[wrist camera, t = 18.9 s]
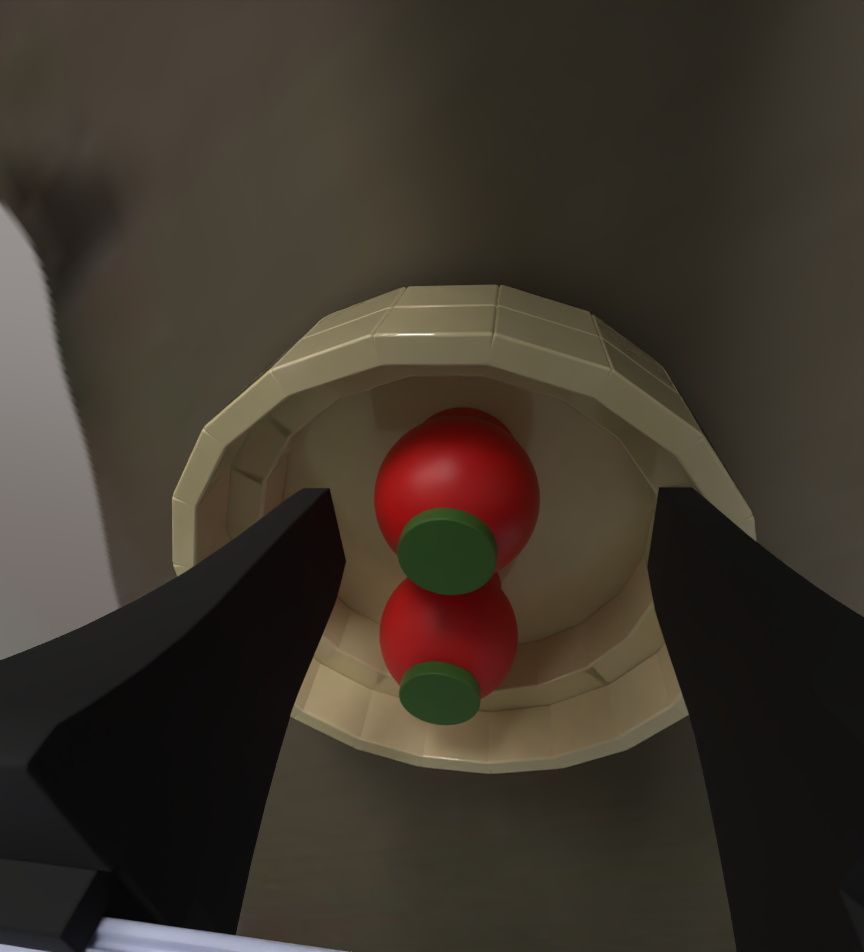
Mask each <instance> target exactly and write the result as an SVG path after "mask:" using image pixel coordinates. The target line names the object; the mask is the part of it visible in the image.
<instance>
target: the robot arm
mask: <svg viewBox="0 0 864 952" xmlns="http://www.w3.org/2000/svg"><path fill="white" fill-rule="evenodd" d="M345 564H346V558H345V554H344V549H343V545H342V540H341V536H340V532H339V527H338V523H337V518H336V514H335V509H334V505H333V501H332V496H331V492H330V488H303V489H301V490H299V491H298V492H296V493H295V494H293V495H292V496H290V497H289V498H288V499H286V500H285V501H284V502H282V503H281V504H280V505H278V506H277V507H276V508H274V509H273V510H272V511H270V512H269V513H268V514H266V515H265V516H264V517H262V518H261V519H260V520H258V521H257V522H256V523H254V524H253V525H252V526H250V527H249V528H248V529H246V530H245V531H244V532H242V533H241V534H240V535H238V536H237V537H236V538H234V539H233V540H231V541H230V542H229V543H227V544H226V545H224V546H223V547H221V548H220V549H218V550H217V551H215V552H214V553H212V554H211V555H210V556H208V557H207V558H205V559H204V560H202V561H201V562H199V563H198V564H196V565H195V566H194V567H192V568H190V569H189V570H187V571H186V572H184V573H182V574H181V575H179V576H178V577H176V578H174V579H173V580H171V581H169V582H168V583H166V584H164V585H162V586H161V587H159V588H157V589H155V590H154V591H152V592H150V593H148V594H147V595H145V596H143V597H141V598H139V599H137V600H136V601H134V602H132V603H130V604H128V605H126V606H124V607H122V608H119V609H117V610H115V611H113V612H111V613H109V614H108V615H105V616H103V617H101V618H99V619H97V620H95V621H93V622H91V623H89V624H87V625H85V626H83V627H81V628H79V629H76V630H74V631H71V632H69V633H67V634H65V635H62V636H60V637H58V638H55V639H53V640H51V641H48V642H46V643H43V644H41V645H38V646H36V647H33V648H31V649H28V650H26V651H24V652H21V653H18V654H16V655H13V656H11V657H8V658H5V659H3V660H0V952H348V951H341V950H334V949H327V948H320V947H313V946H306V945H299V944H292V943H285V942H278V941H271V940H264V939H257V938H250V937H243V936H236V931H237V926H238V921H239V916H240V912H241V907H242V903H243V898H244V893H245V889H246V884H247V879H248V875H249V870H250V865H251V861H252V857H253V853H254V849H255V845H256V841H257V837H258V832H259V828H260V824H261V820H262V816H263V812H264V808H265V804H266V800H267V796H268V793H269V789H270V785H271V782H272V778H273V774H274V771H275V767H276V763H277V760H278V756H279V753H280V749H281V746H282V742H283V739H284V736H285V732H286V729H287V726H288V722H289V719H290V716H291V712H292V709H293V707H294V704H295V701H296V698H297V696H298V693H299V690H300V688H301V685H302V683H303V681H304V678H305V676H306V673H307V671H308V668H309V666H310V664H311V661H312V659H313V656H314V654H315V652H316V649H317V647H318V644H319V642H320V640H321V637H322V635H323V632H324V630H325V627H326V625H327V623H328V620H329V618H330V615H331V613H332V610H333V608H334V605H335V602H336V599H337V596H338V592H339V588H340V585H341V581H342V577H343V572H344V568H345ZM647 570H648V575H649V581H650V587H651V593H652V598H653V603H654V608H655V613H656V616H657V619H658V622H659V625H660V629H661V632H662V635H663V638H664V641H665V644H666V647H667V650H668V653H669V656H670V659H671V662H672V665H673V668H674V671H675V674H676V677H677V680H678V683H679V686H680V689H681V692H682V695H683V699H684V702H685V705H686V708H687V711H688V714H689V717H690V721H691V724H692V728H693V731H694V735H695V738H696V743H697V747H698V752H699V756H700V761H701V765H702V770H703V775H704V779H705V784H706V788H707V793H708V798H709V803H710V808H711V813H712V818H713V823H714V828H715V833H716V838H717V843H718V848H719V853H720V858H721V864H722V869H723V875H724V880H725V886H726V891H727V897H728V902H729V908H730V913H731V919H732V925H733V931H734V937H735V943H736V949H737V952H864V617H862V616H861V615H859V614H858V613H856V612H854V611H853V610H851V609H850V608H848V607H846V606H845V605H843V604H842V603H840V602H838V601H837V600H835V599H834V598H832V597H831V596H829V595H828V594H826V593H825V592H823V591H822V590H820V589H819V588H817V587H816V586H815V585H813V584H812V583H810V582H809V581H808V580H806V579H805V578H804V577H802V576H801V575H799V574H798V573H797V572H795V571H794V570H792V569H791V568H790V567H788V566H787V565H786V564H784V563H783V562H782V561H780V560H779V559H778V558H776V557H775V556H774V555H773V554H771V553H770V552H769V551H767V550H766V549H765V548H764V547H762V546H761V545H760V544H759V543H757V542H756V541H755V540H754V539H753V538H751V537H750V536H749V535H748V534H747V533H745V532H744V531H743V530H742V529H741V528H739V527H738V526H737V525H736V524H735V523H733V522H732V521H731V520H730V519H729V518H728V517H726V516H725V515H724V514H723V513H722V512H721V511H720V510H718V509H717V508H716V507H715V506H714V505H713V504H711V503H710V502H709V501H708V500H707V499H706V498H705V497H703V496H702V495H701V494H700V493H699V492H697V491H696V490H695V489H694V488H692V487H659V490H658V497H657V504H656V510H655V517H654V524H653V531H652V538H651V544H650V551H649V558H648V565H647Z"/></svg>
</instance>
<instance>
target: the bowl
mask: <svg viewBox="0 0 864 952" xmlns="http://www.w3.org/2000/svg"><path fill="white" fill-rule="evenodd" d="M463 407H464V408H473V409H478V410H481V411H484V412H486V413H488V414H490V415H492V416H494V417H495V418H497V419H498V420H499V421H501V422H502V423H503V424H504V425H505V426H506V427H507V428H508V430H509V431H510V433H511V434H512V436H513V438H514V439H515V440H516V441H517V442H518V443H519V444H520V445H521V446H522V448H523V449H524V450H525V452H526V453H527V455H528V456H529V458H530V460H531V462H532V464H533V466H534V469H535V471H536V475H537V478H538V483H539V489H540V509H539V515H538V519H537V523H536V526H535V529H534V531H533V534H532V535H531V537H530V539H529V541H528V543H527V544H526V546H525V547H524V548H523V550H522V551H521V552H520V553H519V554H518V555H517V556H516V557H515V558H514V559H513V560H512V561H511V562H510V563H509V564H508V565H506V566H505V567H504V568H502V569H500V570H498V571H497V573H498V574H499V577H500V580H501V589H502V590H503V592H504V593H505V595H506V596H507V598H508V599H509V601H510V603H511V606H512V608H513V610H514V613H515V617H516V621H517V627H518V645H517V651H516V655H515V659H514V661H513V664H512V666H511V668H510V671H509V672H508V674H507V676H506V677H505V679H504V680H503V681H502V683H501V684H500V685H499V686H498V687H497V688H496V689H495V690H494V691H493V692H491V693H490V694H489V695H487V696H486V697H484V698H483V699H481V700H480V707H479V710H478V712H477V713H476V715H475V716H474V717H473V718H471V719H470V720H468V721H466V722H464V723H460V724H456V725H437V724H432V723H428V722H425V721H422V720H420V719H418V718H416V717H414V716H413V715H411V714H410V713H409V712H408V711H407V710H406V709H405V708H404V707H403V705H402V704H401V702H400V698H399V689H400V686H399V685H398V683H397V682H396V681H395V680H394V678H393V677H392V676H391V674H390V672H389V670H388V669H387V667H386V664H385V662H384V659H383V656H382V652H381V647H380V636H379V634H380V623H381V618H382V614H383V611H384V608H385V606H386V603H387V601H388V599H389V598H390V596H391V594H392V593H393V591H394V590H395V589H396V588H397V587H398V585H399V584H400V583H401V582H402V581H403V580H405V579H406V578H407V576H406V575H405V573H404V572H403V570H402V568H401V566H400V564H399V561H398V556H397V555H396V554H395V553H394V552H393V550H392V549H391V548H390V547H389V545H388V544H387V542H386V541H385V539H384V537H383V535H382V533H381V530H380V528H379V525H378V522H377V518H376V512H375V507H374V490H375V483H376V479H377V475H378V472H379V469H380V466H381V464H382V462H383V460H384V458H385V457H386V455H387V453H388V452H389V450H390V449H391V447H392V446H393V445H394V444H395V443H396V442H397V441H398V440H399V439H400V438H401V437H402V436H403V435H404V434H406V433H407V432H408V431H409V430H411V429H413V428H414V427H416V426H418V425H420V424H421V423H423V422H424V421H425V420H427V419H428V418H429V417H431V416H432V415H434V414H436V413H438V412H441V411H443V410H447V409H451V408H463ZM659 487H692V488H694V489H695V490H696V491H697V492H699V493H700V494H701V495H702V496H703V497H705V498H706V499H707V500H708V501H709V502H710V503H711V504H713V505H714V506H715V507H716V508H717V509H718V510H720V511H721V512H722V513H723V514H724V515H725V516H726V517H728V518H729V519H730V520H731V521H732V522H733V523H735V524H736V525H737V526H738V527H739V528H741V529H742V530H743V531H744V532H745V533H747V534H748V535H749V536H750V537H751V538H753V539H754V540H755V541H756V542H757V536H756V527H755V518H754V516H753V514H752V510H751V509H750V507H749V505H748V504H747V502H746V500H745V499H744V497H743V495H742V494H741V492H740V490H739V489H738V487H737V485H736V484H735V482H734V480H733V479H732V477H731V475H730V474H729V472H728V471H727V469H726V467H725V466H724V464H723V462H722V461H721V459H720V457H719V456H718V454H717V452H716V451H715V449H714V447H713V446H712V444H711V442H710V441H709V439H708V437H707V436H706V434H705V432H704V431H703V429H702V428H701V426H700V424H699V423H698V421H697V419H696V418H695V416H694V415H693V413H692V411H691V410H690V408H689V407H688V405H687V403H686V402H685V400H684V399H683V397H682V395H681V394H680V392H679V391H678V389H677V387H676V386H675V384H674V383H673V381H672V379H671V378H670V376H669V375H668V373H667V371H666V370H665V368H663V367H662V366H661V364H659V363H658V362H657V361H655V360H654V359H653V358H651V357H650V356H649V355H647V354H646V353H645V352H643V351H642V350H641V349H639V348H638V347H637V346H635V345H634V344H633V343H631V342H630V341H629V340H627V339H626V338H624V337H623V336H622V335H620V334H619V333H618V332H616V331H615V330H614V329H612V328H611V327H610V326H608V325H607V324H606V323H604V322H603V321H602V320H600V319H599V318H598V317H596V316H595V315H591V313H590V312H588V311H585V310H582V309H578V308H575V307H572V306H569V305H566V304H562V303H559V302H556V301H553V300H550V299H546V298H543V297H540V296H537V295H533V294H530V293H527V292H524V291H521V290H517V289H514V288H511V287H508V286H504V285H500V286H498V285H454V286H411V287H407V288H405V287H402V288H399V289H397V290H394V291H391V292H388V293H386V294H383V295H380V296H378V297H375V298H372V299H370V300H367V301H364V302H362V303H359V304H356V305H354V306H351V307H348V308H346V309H343V310H340V311H338V312H335V313H332V314H330V315H327V316H325V317H324V318H323V319H321V320H319V321H318V322H317V323H316V324H315V325H314V326H313V327H311V328H310V329H309V330H308V331H307V332H306V333H305V334H303V335H302V336H301V337H300V338H299V339H298V340H297V341H295V342H294V343H293V344H292V345H291V346H290V347H289V348H287V349H286V350H285V351H284V352H283V353H282V354H281V355H279V356H278V357H277V358H276V359H275V360H274V361H273V362H271V363H270V364H269V365H268V366H267V367H266V368H265V369H264V370H263V371H262V372H261V373H260V374H259V375H257V376H256V377H255V378H254V379H253V380H252V381H251V382H250V383H249V384H248V385H247V386H246V387H245V388H244V389H243V390H242V391H241V392H240V393H239V394H237V395H236V396H235V397H234V398H233V399H232V400H231V401H230V402H229V403H228V404H227V405H226V406H225V407H224V408H223V409H222V410H221V411H220V412H219V413H218V414H217V415H215V416H214V417H213V418H212V419H211V420H210V421H209V422H208V423H207V424H206V425H205V427H204V428H203V429H202V431H201V433H200V435H199V438H198V440H197V442H196V444H195V446H194V449H193V451H192V453H191V455H190V457H189V460H188V462H187V464H186V466H185V468H184V471H183V473H182V475H181V477H180V479H179V482H178V484H177V486H176V488H175V490H174V492H173V497H172V562H173V563H174V565H173V567H174V569H175V572H176V574H177V577H178V576H179V575H181V574H182V573H184V572H186V571H187V570H189V569H190V568H192V567H194V566H195V565H196V564H198V563H199V562H201V561H202V560H204V559H205V558H207V557H208V556H210V555H211V554H212V553H214V552H215V551H217V550H218V549H220V548H221V547H223V546H224V545H226V544H227V543H229V542H230V541H231V540H233V539H234V538H236V537H237V536H238V535H240V534H241V533H242V532H244V531H245V530H246V529H248V528H249V527H250V526H252V525H253V524H254V523H256V522H257V521H258V520H260V519H261V518H262V517H264V516H265V515H266V514H268V513H269V512H270V511H272V510H273V509H274V508H276V507H277V506H278V505H280V504H281V503H282V502H284V501H285V500H286V499H288V498H289V497H290V496H292V495H293V494H295V493H296V492H298V491H299V490H301V489H303V488H330V492H331V496H332V501H333V505H334V509H335V514H336V518H337V523H338V527H339V532H340V536H341V540H342V545H343V549H344V554H345V558H346V564H345V568H344V572H343V577H342V581H341V585H340V588H339V592H338V596H337V599H336V602H335V605H334V608H333V610H332V613H331V615H330V618H329V620H328V623H327V625H326V627H325V630H324V632H323V635H322V637H321V640H320V642H319V644H318V647H317V649H316V652H315V654H314V656H313V659H312V661H311V664H310V666H309V668H308V671H307V673H306V676H305V678H304V681H303V683H302V685H301V688H300V690H299V693H298V696H297V698H296V701H295V704H294V707H293V709H292V712H291V716H290V717H293V718H294V719H295V720H297V721H299V722H302V723H304V724H306V725H308V726H310V727H312V728H314V729H316V730H318V731H320V732H322V733H324V734H326V735H328V736H330V737H332V738H334V739H336V740H338V741H340V742H342V743H345V744H347V745H349V746H351V747H354V748H355V749H358V750H361V751H365V752H368V753H372V754H375V755H379V756H383V757H386V758H390V759H393V760H397V761H400V762H404V763H407V764H411V765H414V766H418V767H421V766H422V767H425V768H435V769H445V770H454V771H464V772H474V773H484V774H490V773H492V774H499V773H512V772H525V771H538V770H551V769H560V768H566V767H570V766H573V765H577V764H580V763H584V762H587V761H591V760H594V759H598V758H601V757H605V756H608V755H612V754H615V753H619V752H622V751H626V750H628V749H629V748H632V747H634V746H636V745H638V744H639V743H641V742H643V741H645V740H646V739H648V738H650V737H652V736H653V735H655V734H657V733H659V732H660V731H662V730H664V729H666V728H667V727H669V726H671V725H673V724H674V723H676V722H678V721H680V720H681V719H683V718H685V717H687V716H688V715H689V714H688V711H687V708H686V705H685V702H684V699H683V695H682V692H681V689H680V686H679V683H678V680H677V677H676V674H675V671H674V668H673V665H672V662H671V659H670V656H669V653H668V650H667V647H666V644H665V641H664V638H663V635H662V632H661V629H660V625H659V622H658V619H657V616H656V613H655V608H654V603H653V598H652V593H651V587H650V581H649V575H648V570H647V565H648V558H649V551H650V544H651V538H652V531H653V524H654V517H655V510H656V504H657V497H658V490H659Z"/></svg>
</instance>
